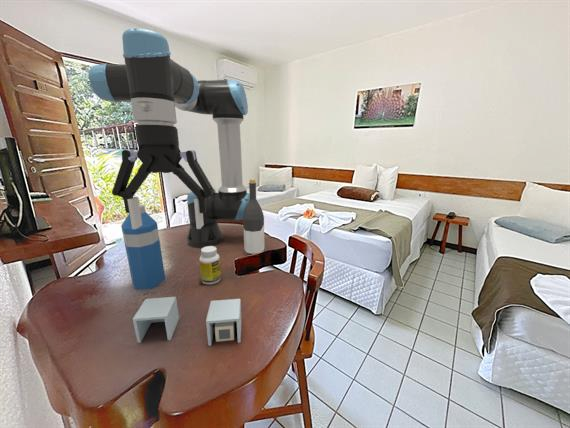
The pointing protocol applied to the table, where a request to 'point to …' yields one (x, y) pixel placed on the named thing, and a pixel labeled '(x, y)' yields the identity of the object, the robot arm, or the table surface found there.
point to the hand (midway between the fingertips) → (169, 227)
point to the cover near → (156, 316)
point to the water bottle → (143, 252)
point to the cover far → (223, 316)
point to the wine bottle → (253, 223)
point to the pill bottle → (210, 265)
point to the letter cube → (225, 331)
